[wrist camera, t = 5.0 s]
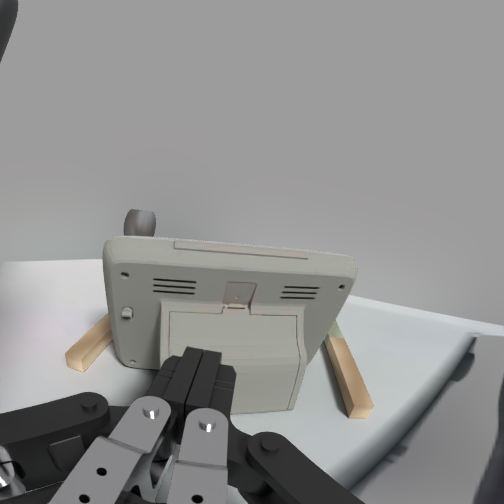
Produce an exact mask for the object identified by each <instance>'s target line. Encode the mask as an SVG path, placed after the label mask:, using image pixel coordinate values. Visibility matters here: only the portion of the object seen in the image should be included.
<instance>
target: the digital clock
mask: <svg viewBox="0 0 504 504" xmlns="http://www.w3.org/2000/svg"><path fill="white" fill-rule="evenodd" d="M103 272H104V282H105V290H106V298H107V305H108V312H109V319H110V325H111V331H112V337H113V342H114V347H115V351H116V355H117V356H118V358H119V359H120V361H121V362H122V363H123V364H124V365H126V366H129V367H133V368H143V369H155V370H160V369H161V366H162V364H163V363H164V361H165V360H166V359H168V358H169V357H171V356H172V355H175V356H180V357H182V355H183V353H184V351H185V349H186V347H187V346H189V347H194V348H199V349H204V351H205V350H210V351H216V352H222V361H221V364H223V365H230V366H233V368H234V370H235V372H236V374H237V375H236V381H235V388H234V394H233V401H232V407H231V413H230V414H248V413H263V412H274V411H284V410H292V409H294V406H295V403H296V399H297V396H298V393H299V390H300V386H301V383H302V379H303V376H304V372H305V368H306V365H308V364H309V363H310V361H311V360H312V359H313V357H314V355H315V354H316V352H317V350H318V349H319V347H320V345H321V344H322V342H323V340H324V339H325V337H326V335H327V333H328V332H329V330H330V328H331V326H332V325H333V323H334V321H335V319H336V317H337V316H338V314H339V312H340V310H341V308H342V307H343V305H344V303H345V301H346V299H347V297H348V295H349V293H350V291H351V289H352V287H353V285H354V283H355V280H356V276H357V272H358V268H357V264H356V261H355V260H354V259H353V258H352V257H350V256H347V255H342V254H336V253H330V252H322V251H313V250H303V249H292V248H281V247H269V246H258V245H245V244H234V243H223V242H211V241H200V240H187V239H175V238H162V237H149V236H118V237H112V238H110V239H108V240H107V241H106V242H105V245H104V249H103Z"/></svg>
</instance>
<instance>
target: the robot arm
mask: <svg viewBox="0 0 504 504" xmlns="http://www.w3.org/2000/svg"><path fill="white" fill-rule="evenodd" d="M17 12H18V0H0V62H1V59H2V57H3V54H4V51H5V49H6V46H7V44H8V41H9V38H10V36H11V33H12V30H13V27H14V24H15V21H16V17H17ZM221 361H222V352H216V351H210V350H205V351H204V349H199V348H194V347H189V346H187V347H186V349H185V351H184V353H183V355H182V357H180V356H175V355H172V356H171V357H169V358H168V359H166V360H165V361H164V363H163V364H162V366H161V369H160V370H159V372H158V374H157V376H156V377H155V379H154V381H153V383H152V385H151V387H150V388H149V390H148V392H147V394H146V396H144V397H141V398H138V399H136V400H135V401H134V402H133V403H132V404H131V406H127V407H121V406H108V402H107V400H106V399H105V398H104V397H103V396H102V395H100V394H97V393H93V392H84V393H80V394H77V395H73V396H70V397H66V398H62V399H59V400H55V401H51V402H48V403H44V404H40V405H36V406H32V407H28V408H24V409H19V410H15V411H11V412H6V413H1V414H0V504H227V484H228V485H230V486H233V487H235V488H238V491H239V493H240V494H241V496H242V497H243V498H244V499H245V500H246V501H247V503H248V504H365V503H364V502H362V501H361V500H359V499H358V498H357V497H355V496H354V495H353V494H352V493H350V492H349V491H348V490H346V489H345V488H344V487H343V486H341V485H340V484H339V483H337V482H336V481H335V480H334V479H333V478H331V477H330V476H329V475H328V474H326V473H325V472H324V471H323V470H322V469H320V468H319V467H318V466H317V465H316V464H315V463H313V462H312V461H311V460H310V459H309V458H308V457H306V456H305V455H304V454H303V453H302V452H301V451H300V450H298V449H297V448H296V447H295V446H294V445H293V444H292V443H291V442H290V441H289V440H287V439H286V438H285V437H284V436H282V435H280V434H277V433H274V432H260V433H257V434H255V435H253V436H251V435H248V434H246V433H243V432H241V431H240V430H238V429H237V428H236V427H235V426H234V425H233V424H232V422H231V420H230V413H231V407H232V401H233V394H234V388H235V381H236V375H237V374H236V372H235V370H234V368H233V366H230V365H223V364H221ZM78 435H80V437H78V438H75V439H72V440H69V441H66V442H63V443H59V444H56V445H52V446H49V445H50V444H52V443H55V442H59V441H62V440H65V439H68V438H72V437H75V436H78ZM176 444H179V445H181V447H180V452H179V457H178V461H176V462H175V465H174V469H173V474H172V479H171V484H170V489H169V494H168V499H167V503H155V501H156V495H157V493H158V490H159V488H160V486H161V483H162V481H163V479H164V477H165V474H166V472H167V470H168V468H169V465H170V463H171V461H172V458H173V452H174V449H175V446H176ZM64 480H65V481H64ZM61 481H64V482H61ZM58 482H60V483H58ZM54 483H57V484H54ZM51 484H53V485H51ZM48 485H51V486H48ZM44 486H48V487H44ZM41 487H44V488H41ZM37 488H41V489H38V490H35V491H32V492H28V493H25V491H29V490H33V489H37Z"/></svg>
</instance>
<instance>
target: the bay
mask: <svg viewBox="0 0 504 504" xmlns="http://www.w3.org/2000/svg"><path fill="white" fill-rule="evenodd" d="M155 227H156V218H155V215H154V212H149V211H142V210H134V209H132V210H130V211H129V212H128V214H127V216H126V218H125V222H124V236H149V237H153V236H154V233H155ZM112 340H113V337H112V331H111V325H110V319H109V313H108V314H107V315H106V316H105V317H104V318H103V319H101V320H100V321H99V322H98V323H97V324H96V325H95V326H94V327H93V328H92V329H91V330H89V331H88V332H87V333H86V334H85V335H84V336H83V337H82V338H81V339H80V340H79V341H78V342H77V343H76V344H74V345H73V346H72V347H71V348H70V349H69V350H68V351H67V352H66V353H65V356H66V361H67V366H68V367H70V368H73V369H76V370H78V371H81V372H84V371H85V370H86V369H87V368H88V367H89V366H90V364H91V363H92V362H93V361H94V360H95V359H96V358H97V357H98V355H99V354H100V353H101V352H102V351H103V350H104V349H105V348H106V346H107V345H108V344H109V343H110V342H111V341H112ZM324 342H325V345H326V348H327V351H328V354H329V357H330V360H331V363H332V366H333V369H334V372H335V375H336V379H337V382H338V385H339V388H340V391H341V394H342V397H343V401H344V404H345V407H346V410H347V413H348V417H349V418H368V417H369V415H370V413H371V411H372V409H373V407H374V405H373V402H372V400H371V398H370V395H369V393H368V391H367V388H366V386H365V384H364V382H363V379H362V377H361V375H360V373H359V370H358V368H357V366H356V364H355V361H354V359H353V357H352V355H351V352H350V350H349V348H348V346H347V344H346V342H345V339H344V337H343V335H342V333H341V331H340V329H339V326H338V324H337V322H336V320H335V321H334V323H333V325H332V326H331V328H330V330H329V332H328V333H327V335H326V337H325V339H324Z"/></svg>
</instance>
